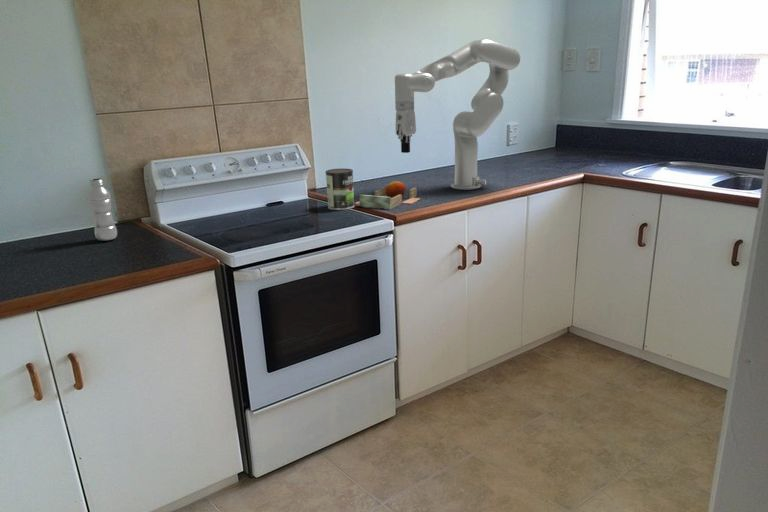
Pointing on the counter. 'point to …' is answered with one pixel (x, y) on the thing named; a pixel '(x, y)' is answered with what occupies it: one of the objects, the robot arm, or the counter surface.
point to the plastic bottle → (102, 210)
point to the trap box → (384, 199)
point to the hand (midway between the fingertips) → (405, 152)
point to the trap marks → (409, 201)
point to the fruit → (395, 189)
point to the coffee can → (340, 189)
